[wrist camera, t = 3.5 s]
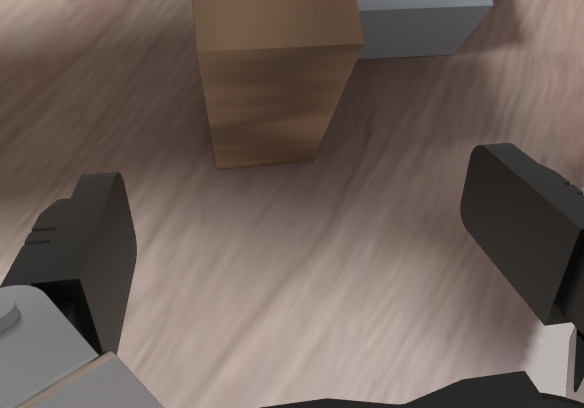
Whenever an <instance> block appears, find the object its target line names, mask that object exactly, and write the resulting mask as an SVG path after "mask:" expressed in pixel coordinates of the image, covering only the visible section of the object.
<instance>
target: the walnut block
mask: <svg viewBox="0 0 584 408" xmlns="http://www.w3.org/2000/svg"><path fill="white" fill-rule="evenodd" d="M192 1H193V14H194V26H195V39H196V52H197V58H198V63H199V69H200V75H201V81H202V86H203V92H204V98H205V104H206V109H207V115H208V121H209V127H210V132H211V138H212V144H213V150H214V155H215V161H216V167H217V169H227V168H240V167H252V166H265V165H277V164H290V163H302V162H313V159H314V157H315V155H316V153H317V150H318V148H319V146H320V144H321V141H322V139H323V137H324V134H325V132H326V130H327V128H328V125H329V123H330V121H331V118H332V116H333V114H334V112H335V109H336V107H337V105H338V102H339V100H340V98H341V96H342V93H343V91H344V89H345V86H346V84H347V82H348V80H349V77H350V75H351V73H352V70H353V68H354V66H355V64H356V61H357V59H358V57H359V54H360V52H361V50H362V48H363V45H364V39H363V33H362V27H361V21H360V15H359V9H358V3H357V0H192Z"/></svg>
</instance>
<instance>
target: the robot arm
mask: <svg viewBox="0 0 584 408" xmlns="http://www.w3.org/2000/svg"><path fill="white" fill-rule="evenodd" d="M460 210H461V218H462V221H463V224H464V226H465V228H466V229H467V231H468V232H469V233H470V234H471V236H472V237H473V238H474V239H475V240H476V242H477V243H478V244H479V245H480V247H481V248H482V249H483V250H484V251H485V253H486V254H487V255H488V256H489V258H490V259H491V260H492V261H493V263H494V264H495V265H496V266H497V267H498V269H499V270H500V271H501V272H502V274H503V275H504V276H505V277H506V279H507V280H508V281H509V282H510V283H511V285H512V286H513V287H514V288H515V290H516V291H517V292H518V293H519V295H520V296H521V297H522V298H523V299H524V301H525V302H526V303H527V304H528V306H529V307H530V308H531V309H532V310H533V312H534V313H535V314H536V315H537V317H538V318H539V319H540V320H541V322H542V323H543V324H544V325H545V326H546V325H554V324H561V323H569V322H572V323H573V324H574V325H575V328H574V330H573V332H572V335H571V337H570V342H569V357H568V371H567V385H566V397H562V396H557V395H552V394H546V393H540V392H539V391H538V390H537V388H536V387H535V385H534V384H533V382H532V381H531V379H530V378H529V376H528V375H527V374H526V372H525V371H520V372H513V373H505V374H498V375H491V376H484V377H477V378H470V379H462V380H460V381H458V382H455V383H453V384H451V385H448V386H446V387H444V388H441V389H439V390H437V391H434V392H432V393H430V394H427V395H425V396H423V397H420V398H418V399H416V400H413V401H411V402H409V403H406V404H400V405H397V404H384V403H373V402H362V401H351V400H340V399H329V398H326V399H319V400H312V401H305V402H297V403H290V404H283V405H276V406H269V407H261V408H584V195H583V192H582V191H581V190H579V189H578V188H577V187H575V186H574V185H570V182H569V181H567V180H566V179H565V178H563V177H562V176H561V175H559V174H558V173H557V172H555V171H553V170H551V169H549V168H547V167H544V166H542V165H540V164H538V163H537V162H535V161H534V160H533V159H531V158H530V157H529V156H527V155H526V154H525V153H524V152H522V151H521V150H520V149H518V148H517V147H516V146H514V145H513V144H511V143H502V144H489V145H478V146H476V147H475V148H474V149H473V151H472V153H471V156H470V161H469V165H468V170H467V175H466V180H465V185H464V190H463V195H462V200H461V207H460ZM24 243H25V246H22V248H21V250H20V251H19V253H18V255H17V257H16V259H15V261H14V262H13V264H12V266H11V268H10V270H9V271H8V273H7V275H6V277H5V279H4V280H3V282H2V284H1V286H0V408H164V407H163V406H162V405H161V404H160V403H159V402H158V400H157V399H156V398H155V397H154V396H153V395H152V394H151V393H150V392H149V391H148V389H147V388H146V387H145V386H144V385H143V384H142V383H141V382H140V381H139V380H138V378H137V377H136V376H135V375H134V374H133V373H132V372H131V371H130V370H129V368H128V367H127V366H126V365H125V364H124V363H123V362H122V361H121V360H120V359H119V358H118V357H117V351H118V346H119V341H120V337H121V332H122V327H123V322H124V317H125V312H126V307H127V302H128V298H129V293H130V288H131V283H132V278H133V273H134V268H135V263H136V257H137V244H136V235H135V230H134V225H133V221H132V216H131V212H130V207H129V203H128V199H127V194H126V190H125V185H124V181H123V178H122V176H121V174H120V173H119V172H114V173H101V174H88V175H82V176H81V178H80V180H79V182H78V184H77V186H76V188H75V190H74V192H73V194H72V197H71V199H60V200H57V201H56V202H55V203H53V204H52V205H51V206H50V207H48V208H47V209H46V210H45V211H43V212H42V213H41V214H40V215H39V217H38V219H37V221H36V223H35V224H34V226H33V228H32V233H29V235H28V237H27V239H26V241H25V242H24Z"/></svg>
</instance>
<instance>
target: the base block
mask: <svg viewBox="0 0 584 408" xmlns="http://www.w3.org/2000/svg"><path fill="white" fill-rule="evenodd" d="M357 3H358V9H359V15H360V21H361V27H362V33H363V39H364V45H363V48H362V50H361V52H360V54H359V57H358V59H357V60H360V59H379V58H398V57H416V56H435V55H453V54H455V53H456V52H457V51H458V49H459V48H460V47H461V46H462V44H463V43H464V42H465V41H466V39H467V38H468V37H469V36H470V34H471V33H472V32H473V31H474V29H475V28H476V27H477V26H478V24H479V23H480V22H481V21H482V19H483V18H484V17H485V16H486V14H487V13H488V12H489V10H490V9H491V8H492V7H493V0H357Z"/></svg>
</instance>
